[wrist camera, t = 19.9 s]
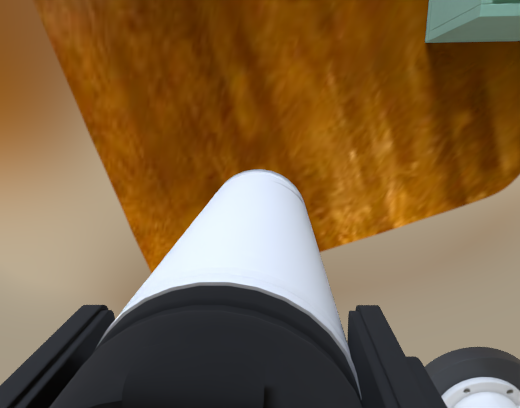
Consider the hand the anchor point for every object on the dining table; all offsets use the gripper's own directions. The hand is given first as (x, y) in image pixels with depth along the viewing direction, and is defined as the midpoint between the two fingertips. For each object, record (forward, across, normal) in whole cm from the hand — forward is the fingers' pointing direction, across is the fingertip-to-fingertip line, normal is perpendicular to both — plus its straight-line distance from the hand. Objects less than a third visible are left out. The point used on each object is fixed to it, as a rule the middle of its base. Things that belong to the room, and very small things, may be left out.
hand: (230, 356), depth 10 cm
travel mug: (+15, 0, 0) cm, 15 cm away
